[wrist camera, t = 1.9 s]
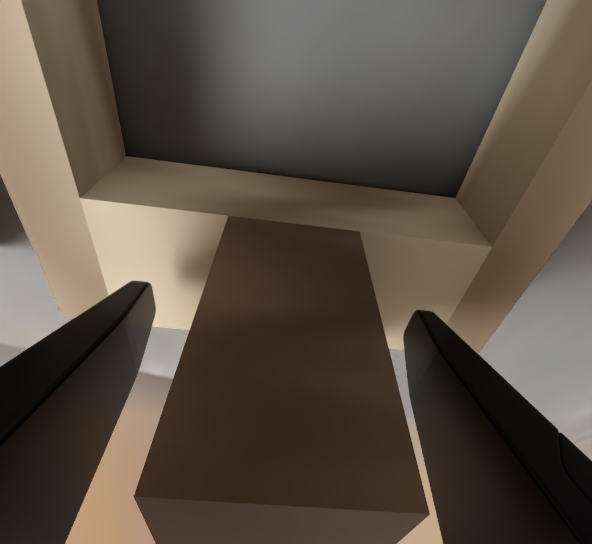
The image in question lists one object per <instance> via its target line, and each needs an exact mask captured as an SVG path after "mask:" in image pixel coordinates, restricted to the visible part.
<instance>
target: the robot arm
mask: <svg viewBox="0 0 592 544" xmlns="http://www.w3.org/2000/svg"><path fill="white" fill-rule="evenodd" d="M155 313H156V305H155V300H154V294H153V289H152V285H151V283H149V282H145V281H130V282H129V283H127V284H126V285H124V286H123V287H121V288H119V289H118V290H116V291H115V292H113V293H112V294H110V295H109V296H107V297H106V298H104V299H103V300H101V301H100V302H98V303H97V304H95V305H94V306H92V307H91V308H89V309H88V310H86V311H84V312H83V313H81V314H80V315H78V316H77V317H75V318H74V319H72V320H71V321H69V322H68V323H66V324H65V325H63V326H62V327H60V328H59V329H57V330H56V331H54V332H53V333H51V334H50V335H48V336H46V337H45V338H43V339H42V340H40V341H39V342H37V343H36V344H34V345H33V346H31V347H30V348H28V349H27V350H25V351H24V352H22V353H21V354H19V355H18V356H16V357H15V358H13V359H12V360H10V361H8V362H7V363H6V364H4V365H2V366H1V367H0V544H65V542H66V540H67V538H68V535H69V533H70V531H71V528H72V526H73V523H74V521H75V519H76V517H77V514H78V512H79V510H80V507H81V505H82V502H83V500H84V498H85V496H86V493H87V491H88V489H89V486H90V484H91V482H92V479H93V477H94V474H95V472H96V470H97V468H98V465H99V463H100V461H101V458H102V456H103V454H104V451H105V449H106V447H107V444H108V442H109V440H110V438H111V435H112V433H113V431H114V428H115V426H116V423H117V421H118V419H119V417H120V414H121V412H122V409H123V407H124V405H125V403H126V400H127V398H128V395H129V393H130V391H131V389H132V386H133V384H134V382H135V379H136V376H137V374H138V371H139V368H140V365H141V362H142V358H143V355H144V352H145V348H146V345H147V341H148V338H149V335H150V331H151V328H152V324H153V321H154V318H155ZM403 343H404V352H405V361H406V370H407V378H408V387H409V394H410V400H411V405H412V409H413V414H414V418H415V422H416V427H417V431H418V435H419V440H420V444H421V448H422V453H423V457H424V462H425V466H426V470H427V474H428V479H429V483H430V487H431V492H432V497H433V501H434V505H435V509H436V514H437V518H438V522H439V526H440V531H441V536H442V540H443V544H592V461H591V460H590V459H589V458H588V457H587V456H586V455H585V454H584V453H583V452H581V451H580V450H579V449H578V448H577V447H576V446H575V445H574V444H573V443H572V442H571V441H570V440H569V439H568V438H567V437H565V436H564V435H563V434H562V433H559V432H558V429H557V428H556V427H555V426H554V425H553V424H552V423H550V422H549V421H548V420H547V419H546V418H545V417H544V416H543V415H542V414H541V413H540V412H539V411H538V410H537V409H536V408H535V407H534V406H532V405H531V404H530V403H529V402H528V401H527V400H526V399H525V398H524V397H523V396H522V395H521V394H520V393H519V392H518V391H517V390H516V389H515V388H513V387H512V386H511V385H510V384H509V383H508V382H507V381H506V380H505V379H504V378H503V377H502V376H501V375H500V374H499V373H498V372H497V371H495V370H494V369H493V368H492V367H491V366H490V365H489V364H488V363H487V362H486V361H485V360H484V359H483V358H482V357H481V356H480V355H479V354H477V353H476V352H475V351H474V350H473V349H472V348H471V347H470V346H469V345H468V344H467V343H466V342H465V341H464V340H463V339H462V338H461V337H459V336H458V335H457V334H456V333H455V332H454V331H453V330H452V329H451V328H450V327H449V326H448V325H447V324H446V323H445V322H444V321H443V320H441V319H440V318H439V317H438V316H437V315H436V314H435V313H434V312H432V311H427V310H416V311H414V313H413V314H412V316H411V318H410V320H409V322H408V325H407V327H406V329H405V331H404V335H403Z"/></svg>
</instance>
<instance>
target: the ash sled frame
mask: <svg viewBox="0 0 592 544" xmlns="http://www.w3.org/2000/svg"><path fill="white" fill-rule="evenodd" d="M0 175H1V177H2V179H3V182H4V184H5V186H6V188H7V191H8V193H9V195H10V198H11V200H12V202H13V205H14V207H15V209H16V211H17V214H18V216H19V218H20V221H21V223H22V225H23V227H24V230H25V232H26V234H27V237H28V239H29V241H30V244H31V246H32V248H33V250H34V253H35V255H36V257H37V260H38V262H39V264H40V266H41V269H42V271H43V273H44V276H45V278H46V280H47V283H48V285H49V287H50V289H51V292H52V294H53V296H54V299H55V301H56V303H57V305H58V308H59V310H60V312H61V315H62V317H63V318H68V319H74V318H75V317H77V316H78V315H80V314H81V313H83V312H84V311H86V310H88V309H89V308H91V307H92V306H94V305H95V304H97V303H98V302H100V301H101V300H103V299H104V298H106V297H107V296H109V295H110V294H112V293H113V292H115V291H116V290H118V289H119V288H121V287H123V286H124V285H126V284H127V283H129V282H130V281H145V282H149V283H151V285H152V289H153V294H154V300H155V305H156V313H155V318H154V321H153V324H152V326H153V327H163V328H174V329H184V330H190V331H189V334H188V337H187V340H186V343H185V346H184V349H183V352H182V355H181V358H180V361H179V364H178V367H177V370H176V373H175V376H174V379H173V382H172V384H171V387H170V390H169V393H168V396H167V399H166V402H165V405H164V408H163V411H162V414H161V417H160V421H159V424H158V426H157V429H156V432H155V435H154V438H153V441H152V444H151V447H150V450H149V453H148V456H147V459H146V462H145V465H144V468H143V471H142V474H141V477H140V480H139V483H138V486H137V489H136V492H135V495H134V498H135V500H136V502H137V505H138V507H139V509H140V511H141V513H142V515H143V517H144V519H145V522H146V524H147V526H148V528H149V529H150V532H151V534H152V536H153V538H154V541H155V543H156V544H397V543H398V542H399V541H400V540H401V539H402V538H403V537H405V536H406V535H407V534H408V533H409V532H410V531H411V530H412V529H414V528H415V527H416V526H417V525H418V524H419V523H420V522H421V521H423V520H424V519H425V518H426V517H427V516H428V515H429V510H428V506H427V502H426V498H425V494H424V490H423V485H422V481H421V478H420V474H419V469H418V465H417V461H416V457H415V453H414V449H413V445H412V441H411V437H410V433H409V429H408V425H407V421H406V417H405V413H404V408H403V404H402V400H401V396H400V392H399V388H398V384H397V380H396V376H395V372H394V368H393V364H392V360H391V356H390V352H389V349H397V350H404V343H403V335H404V331H405V329H406V327H407V325H408V322H409V320H410V318H411V316H412V314H413V313H414V311H416V310H427V311H432V312H434V313H435V314H436V315H437V316H438V317H439V318H440V319H441V320H443V321H444V322H445V323H446V324H447V325H448V326H449V327H450V328H451V329H452V330H453V331H454V332H455V333H456V334H457V335H458V336H459V337H461V338H462V339H463V340H464V341H465V342H466V343H467V344H468V345H469V346H470V347H471V348H472V349H473V350H474V351H475V352H476V353H477V354H478V353H479V352H480V351H481V349H482V348H483V347H484V345H485V344H486V343H487V341H488V340H489V339H490V337H491V336H492V334H493V333H494V332H495V330H496V329H497V328H498V326H499V325H500V324H501V322H502V321H503V320H504V318H505V317H506V316H507V314H508V313H509V312H510V310H511V309H512V308H513V306H514V305H515V303H516V302H517V301H518V299H519V298H520V297H521V295H522V294H523V293H524V291H525V290H526V289H527V287H528V286H529V285H530V283H531V282H532V281H533V279H534V278H535V277H536V275H537V274H538V272H539V271H540V270H541V268H542V267H543V266H544V264H545V263H546V262H547V260H548V259H549V258H550V256H551V255H552V254H553V252H554V251H555V250H556V248H557V247H558V246H559V244H560V243H561V241H562V240H563V239H564V237H565V236H566V235H567V233H568V232H569V231H570V229H571V228H572V227H573V225H574V224H575V223H576V221H577V220H578V219H579V217H580V216H581V215H582V213H583V212H584V211H585V209H586V208H587V206H588V205H589V204H590V202H591V201H592V0H547V1H546V3H545V6H544V8H543V10H542V12H541V14H540V16H539V19H538V21H537V23H536V25H535V27H534V29H533V32H532V34H531V36H530V38H529V40H528V42H527V45H526V47H525V49H524V51H523V53H522V55H521V57H520V60H519V62H518V64H517V66H516V68H515V70H514V73H513V75H512V77H511V79H510V81H509V83H508V86H507V88H506V90H505V92H504V94H503V96H502V99H501V101H500V103H499V105H498V107H497V109H496V112H495V114H494V116H493V118H492V120H491V122H490V124H489V127H488V129H487V131H486V133H485V135H484V137H483V140H482V142H481V144H480V146H479V148H478V150H477V153H476V155H475V157H474V159H473V161H472V163H471V166H470V168H469V170H468V172H467V174H466V176H465V179H464V181H463V183H462V185H461V187H460V189H459V191H458V194H457V196H456V198H450V197H442V196H434V195H426V194H418V193H411V192H403V191H395V190H387V189H379V188H371V187H364V186H356V185H348V184H340V183H332V182H324V181H317V180H309V179H301V178H293V177H285V176H277V175H270V174H262V173H254V172H246V171H238V170H230V169H223V168H215V167H207V166H199V165H191V164H183V163H176V162H168V161H160V160H152V159H144V158H136V157H129V156H126V154H125V148H124V143H123V138H122V132H121V127H120V121H119V116H118V111H117V105H116V100H115V95H114V89H113V84H112V79H111V73H110V68H109V63H108V57H107V52H106V47H105V41H104V36H103V31H102V25H101V20H100V15H99V9H98V4H97V0H0Z"/></svg>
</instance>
